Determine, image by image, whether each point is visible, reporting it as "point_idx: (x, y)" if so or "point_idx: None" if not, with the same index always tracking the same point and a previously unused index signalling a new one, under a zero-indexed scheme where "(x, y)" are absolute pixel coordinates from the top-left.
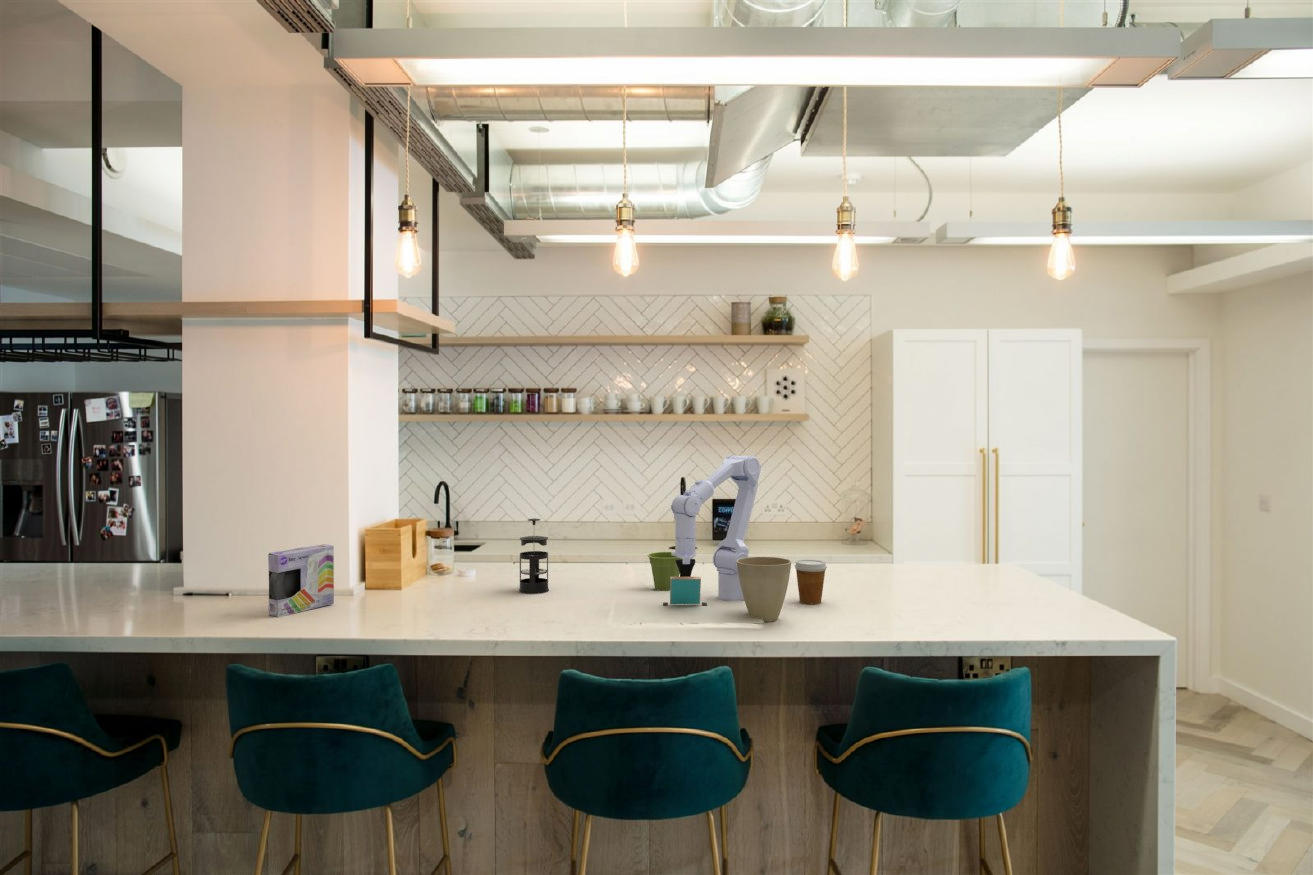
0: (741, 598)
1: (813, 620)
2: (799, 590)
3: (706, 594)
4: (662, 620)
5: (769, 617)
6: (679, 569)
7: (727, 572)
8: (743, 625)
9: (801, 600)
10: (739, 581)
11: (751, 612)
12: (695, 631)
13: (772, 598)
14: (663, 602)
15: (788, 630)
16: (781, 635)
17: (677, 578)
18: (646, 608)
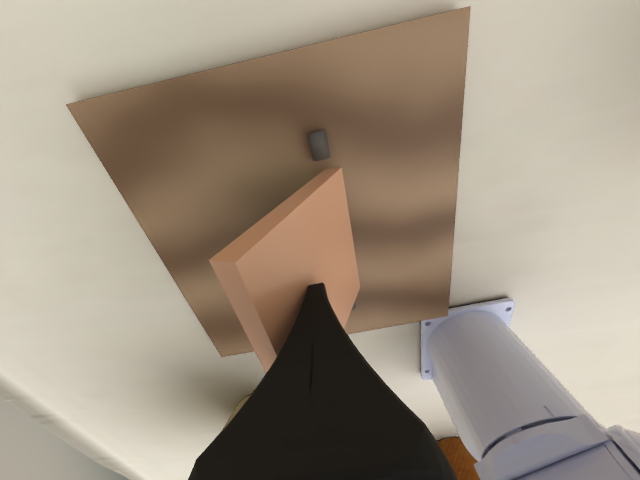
0: (436, 374)
1: None
2: (458, 472)
3: (599, 257)
4: (105, 170)
5: None
6: (256, 393)
7: (494, 458)
8: (184, 387)
9: (442, 446)
10: (467, 433)
11: (231, 418)
12: (33, 306)
13: None
14: (315, 135)
15: (186, 444)
16: (137, 440)
17: (235, 311)
18: (321, 19)
